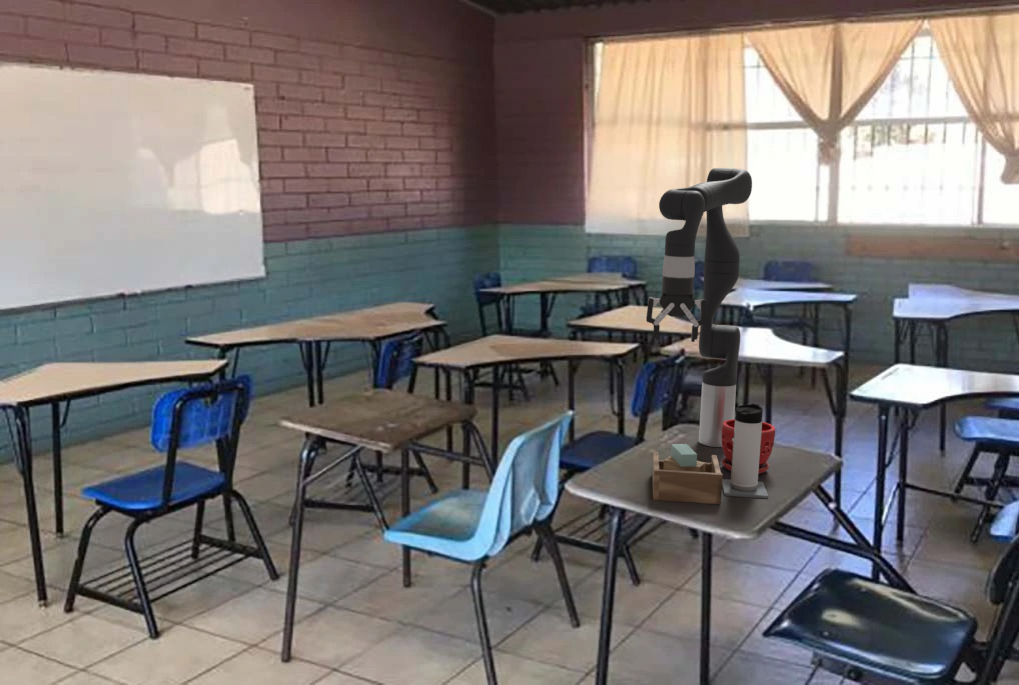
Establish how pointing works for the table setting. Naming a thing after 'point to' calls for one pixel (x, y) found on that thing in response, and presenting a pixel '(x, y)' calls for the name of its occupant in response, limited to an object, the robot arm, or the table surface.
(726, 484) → the mat
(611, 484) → the table surface
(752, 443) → the travel mug
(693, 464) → the offcut top
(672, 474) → the wooden box
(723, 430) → the plant pot
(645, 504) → the table surface
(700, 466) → the offcut mid
